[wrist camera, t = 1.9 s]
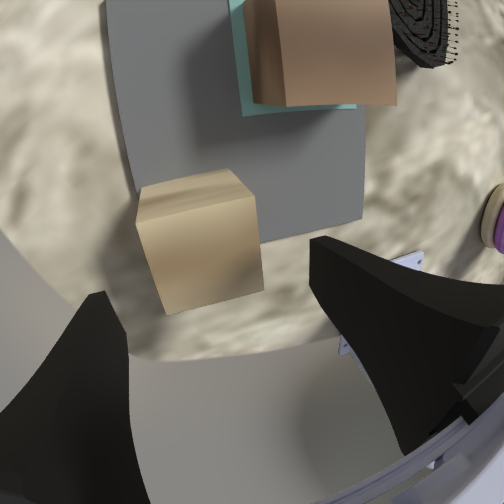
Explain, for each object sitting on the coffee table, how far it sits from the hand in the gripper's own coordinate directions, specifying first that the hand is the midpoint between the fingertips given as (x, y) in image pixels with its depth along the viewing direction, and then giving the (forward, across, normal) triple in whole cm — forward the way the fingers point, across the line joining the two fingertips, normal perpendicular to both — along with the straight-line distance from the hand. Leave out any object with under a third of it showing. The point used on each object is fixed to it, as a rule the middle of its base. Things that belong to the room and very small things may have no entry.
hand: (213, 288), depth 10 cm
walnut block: (+6, -7, -8) cm, 12 cm away
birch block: (+6, 0, 0) cm, 6 cm away
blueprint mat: (+7, -4, -5) cm, 9 cm away
